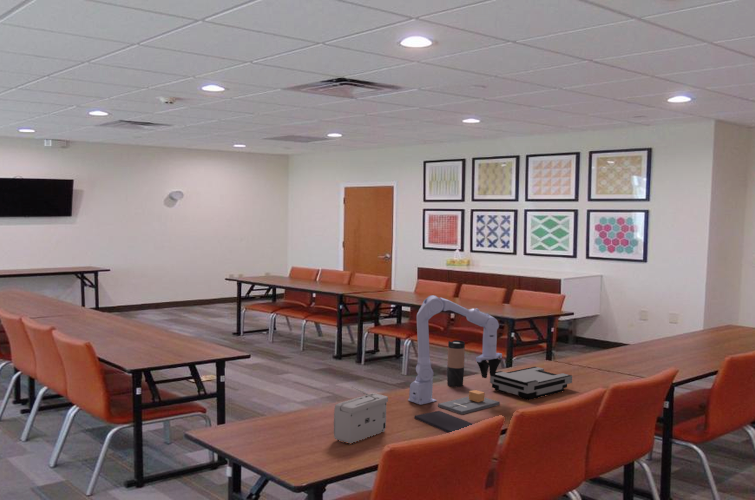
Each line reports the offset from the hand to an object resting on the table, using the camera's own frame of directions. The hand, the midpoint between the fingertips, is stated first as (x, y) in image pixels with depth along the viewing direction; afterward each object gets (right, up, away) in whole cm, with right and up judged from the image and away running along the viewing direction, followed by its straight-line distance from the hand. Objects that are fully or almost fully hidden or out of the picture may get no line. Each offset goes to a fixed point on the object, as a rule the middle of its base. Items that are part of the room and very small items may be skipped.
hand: (488, 376), depth 285 cm
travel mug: (-11, -9, +26) cm, 29 cm away
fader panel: (-9, -11, -7) cm, 16 cm away
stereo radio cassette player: (-52, -12, -48) cm, 72 cm away
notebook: (-21, -13, -30) cm, 39 cm away
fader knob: (-6, -9, -4) cm, 11 cm away
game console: (+23, -10, +20) cm, 32 cm away
